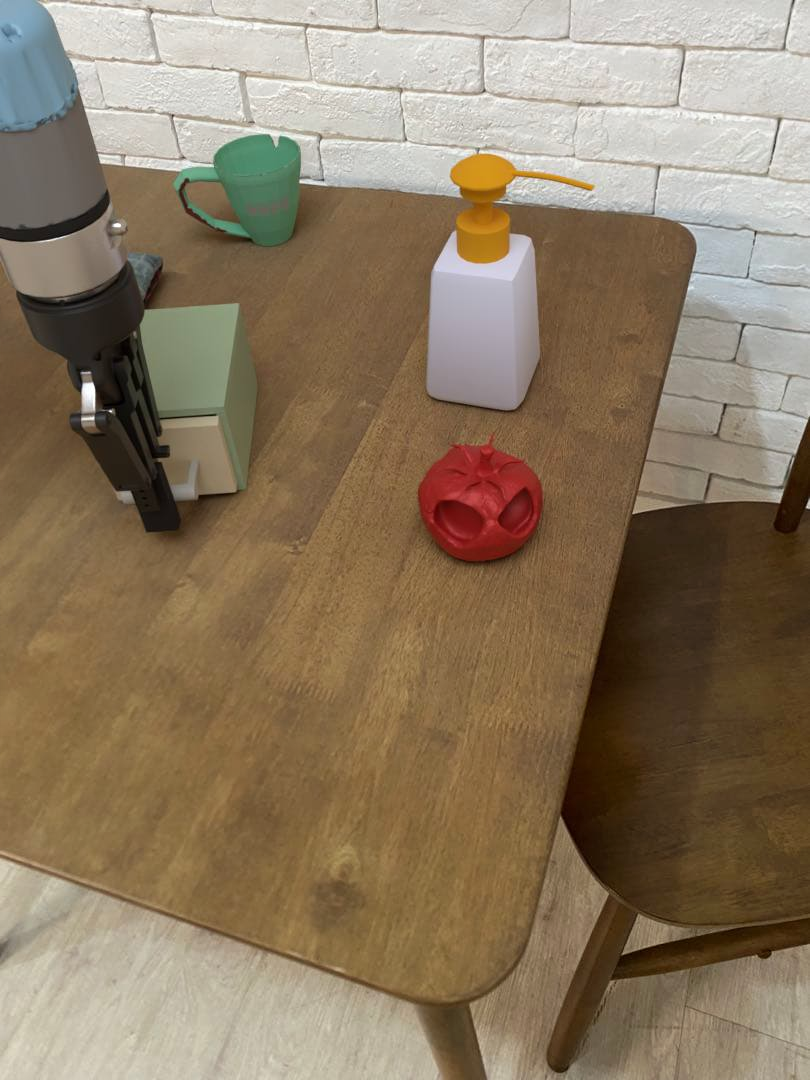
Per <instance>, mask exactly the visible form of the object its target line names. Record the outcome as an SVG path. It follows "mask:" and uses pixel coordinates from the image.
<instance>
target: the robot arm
mask: <svg viewBox="0 0 810 1080" xmlns="http://www.w3.org/2000/svg"><path fill="white" fill-rule="evenodd" d="M59 33H60V32H59V30H58V27H57V25H56V22H55V19H54V17H53V15H52V14H51V12H49V10H48V9H47V8H46V6H44V5H43V4H42V3H41V2H39V1H38V0H0V262H1V265H2V268H3V270H4V273H5V275H6V278H7V280H8V282H9V283H10V285H11V287H12V288H13V289H14V290H16V291H15V296H16V299H17V302H18V304H19V306H20V309H21V311H22V313H23V316H24V318H25V321H26V323H27V325H28V327H29V330H30V333H31V335H32V337H33V338H34V340H35V341H36V342H37V344H39V345H40V346H41V347H43V348H44V349H46V350H48V351H51V352H53V353H56V354H57V355H58V356H61V357H63V358H64V359H65V360H66V361H67V362H66V371H67V373H68V376H69V379H70V381H71V384H72V386H73V387H74V389H75V390H76V391H77V392H78V393H79V394H80V397H81V409H78V410H77V412H71V413H70V414H69V418H68V420H69V426H70V429H71V431H73V432H74V433H75V434H77V435H78V436H80V437H81V438H82V439H83V440H84V442H85V444H86V446H87V447H88V449H89V450H90V453H91V454H92V455H93V457H94V459H95V460H96V462H97V463H98V465H99V466H100V468H101V470H102V472H103V473H104V475H105V476H106V478H107V479H108V481H109V483H110V484H111V487H112V486H113V487H112V489H113V488H114V489H115V491H116V492H119V491H131V493H132V496H133V499H134V501H135V504H134V505H135V507H136V509H137V511H138V514H139V516H140V519H141V522H142V525H143V527H144V530H145V532H146V533H147V534H149V533H165V532H179V531H180V529H181V522H182V518H181V514H180V512H179V509H178V506H177V503H176V501H175V500H174V497H173V494H172V491H171V488H170V485H169V482H168V479H167V476H166V473H165V470H164V467H163V464H162V462H158V459H157V458H169V457H170V446H169V445H159V442H158V439H157V437H161V435H162V426H161V423H160V419H159V414H158V410H157V406H156V401H155V397H154V393H153V388H152V384H151V380H150V375H149V371H148V367H147V362H146V358H145V354H144V349H143V345H142V338H141V330H140V324H141V322H142V320H143V317H144V313H145V310H146V306H145V307H144V302H143V299H142V296H141V293H140V289H139V286H138V283H137V280H136V276H135V273H134V270H133V267H132V265H131V263H130V262H129V261H128V260H127V252H128V251H127V247H126V244H125V240H124V238H123V236H125V235H127V233H128V232H129V229H128V223H127V222H126V220H125V219H123V218H117V216H116V213H115V209H114V205H113V202H112V198H111V195H110V192H109V188H108V184H107V181H106V177H105V173H104V171H103V167H102V163H101V161H100V156H99V153H98V150H97V147H96V143H95V139H94V136H93V133H92V130H91V126H90V122H89V119H88V115H87V112H86V108H85V106H84V102H83V99H82V95H81V91H80V89H79V84H80V83H79V79H78V77H77V72H76V70H75V69H74V67H73V62H72V61H71V59H70V57H68V55H67V52H66V50H65V47H64V44H63V42H62V39H61V36H60V34H59ZM114 489H113V490H114ZM115 491H114V492H115Z"/></svg>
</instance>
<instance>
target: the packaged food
mask: <svg viewBox="0 0 810 1080" xmlns="http://www.w3.org/2000/svg"><path fill="white" fill-rule="evenodd" d="M127 260H128V261H129V262H130V263H131V265H132V267H133V270H134V273H135V276H136V280H137V283H138V286H139V289H140V293H141V296H142V299H143V302H144V307H145V308H146V306H147V303H148V300H149V298H150V296H151V295H152V292H153V291H154V290H155V289H154V288H155V287H156V285H157V283H158V281H159V279H160V277H161V275H162V273H163V268H164V260H163V257H161V256H160V255H158V254H153V253H143V252H135V251H134V252H133V251H127Z"/></svg>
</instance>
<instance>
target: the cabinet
mask: <svg viewBox="0 0 810 1080" xmlns="http://www.w3.org/2000/svg"><path fill="white" fill-rule="evenodd" d="M140 330H141V338H142V345H143V349H144V354H145V358H146V362H147V367H148V371H149V375H150V380H151V384H152V388H153V393H154V397H155V401H156V406H157V410H158V414H159V418H166V417H180V416H195V415H209V414H217V416H219V418H220V422H221V425H222V429H223V433H224V436H225V440H226V443H227V447H228V451H229V454H230V458H231V461H232V465H233V469H234V472H235V476H236V480H237V491H242V490H243V491H244V490H247V486H248V477H249V468H250V460H251V450H252V442H253V435H254V425H255V418H256V417H255V416H256V408H257V399H258V390H259V383H258V377H257V374H256V369H255V365H254V360H253V355H252V352H251V351H252V350H251V348H250V343H249V338H248V335H247V334H248V333H247V330H246V326H245V321H244V317H243V312H242V309H241V304H240V303H239V302H235V303H233V302H232V303H221V304H219V303H218V304H207V305H206V304H205V305H193V306H181V307H167V308H166V307H165V308H152V309H145V313H144V317H143V320H142V322H141V324H140ZM111 487H112V489H113V491H114V494H115V497H116V498H117V495H116V493H115V490H114V488H113V486H112V485H111Z"/></svg>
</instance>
